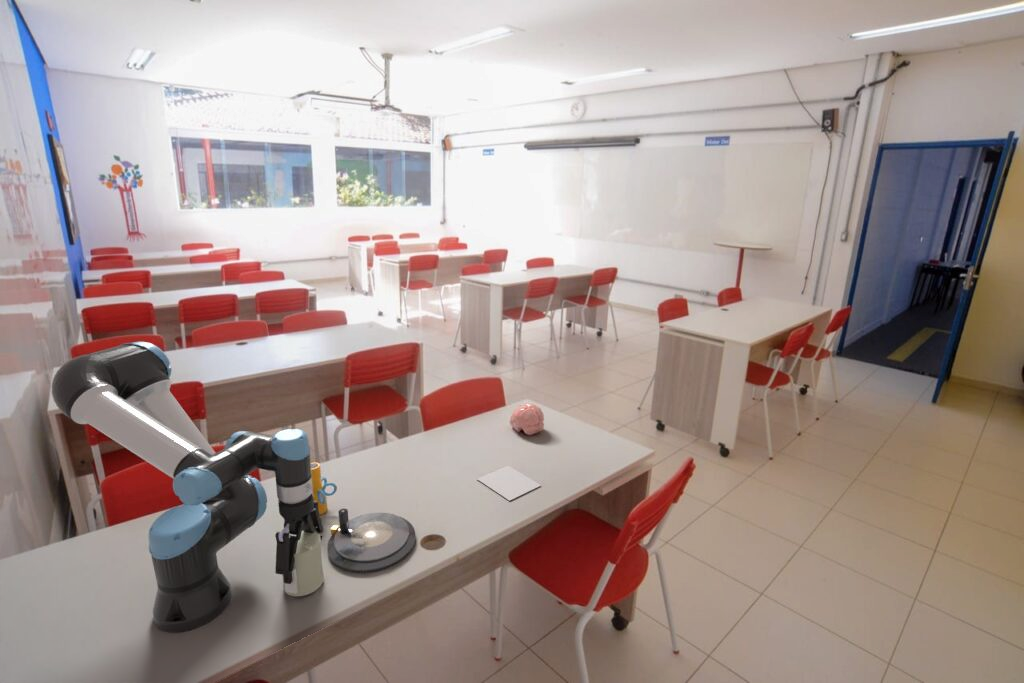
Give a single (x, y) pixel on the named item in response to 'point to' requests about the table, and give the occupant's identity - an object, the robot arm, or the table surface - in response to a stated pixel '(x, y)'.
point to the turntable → (370, 536)
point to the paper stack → (508, 482)
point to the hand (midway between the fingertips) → (303, 577)
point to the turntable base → (372, 566)
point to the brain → (527, 419)
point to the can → (308, 564)
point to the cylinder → (320, 488)
